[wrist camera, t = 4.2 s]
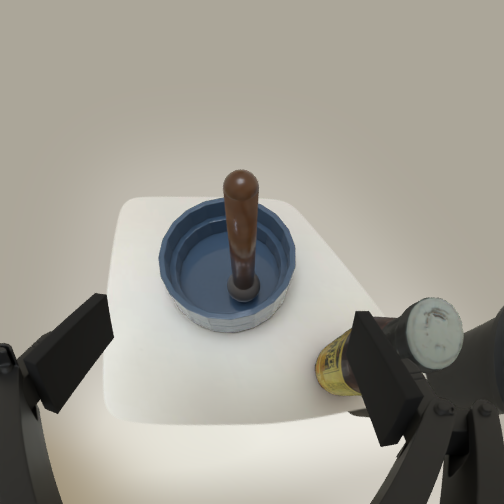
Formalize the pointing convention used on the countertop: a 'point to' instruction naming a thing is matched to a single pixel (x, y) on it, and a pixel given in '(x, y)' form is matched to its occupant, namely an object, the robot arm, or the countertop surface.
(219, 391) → the countertop surface
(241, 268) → the wooden pestle
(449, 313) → the sauce bottle
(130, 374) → the countertop surface
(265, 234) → the bowl
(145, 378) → the countertop surface
